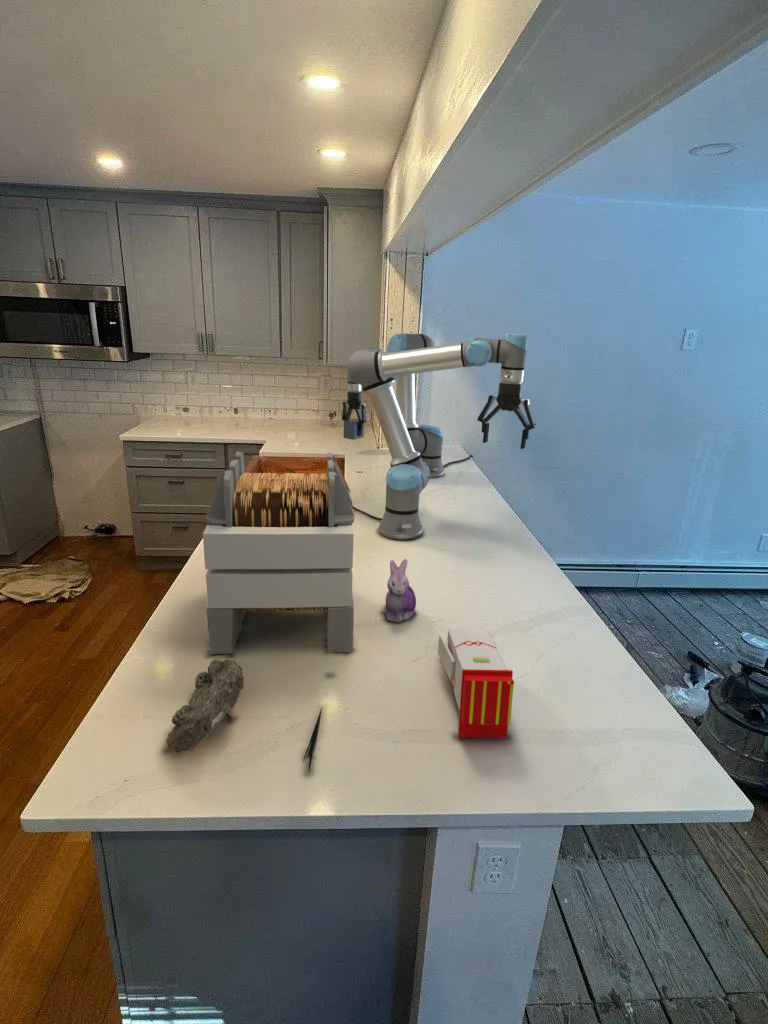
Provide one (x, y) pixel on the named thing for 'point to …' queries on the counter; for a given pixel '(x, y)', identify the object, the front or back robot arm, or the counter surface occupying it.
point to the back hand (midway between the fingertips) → (353, 434)
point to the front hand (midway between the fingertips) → (503, 445)
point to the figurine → (399, 594)
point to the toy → (478, 682)
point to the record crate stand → (279, 550)
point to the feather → (313, 740)
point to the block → (352, 429)
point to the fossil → (206, 705)
